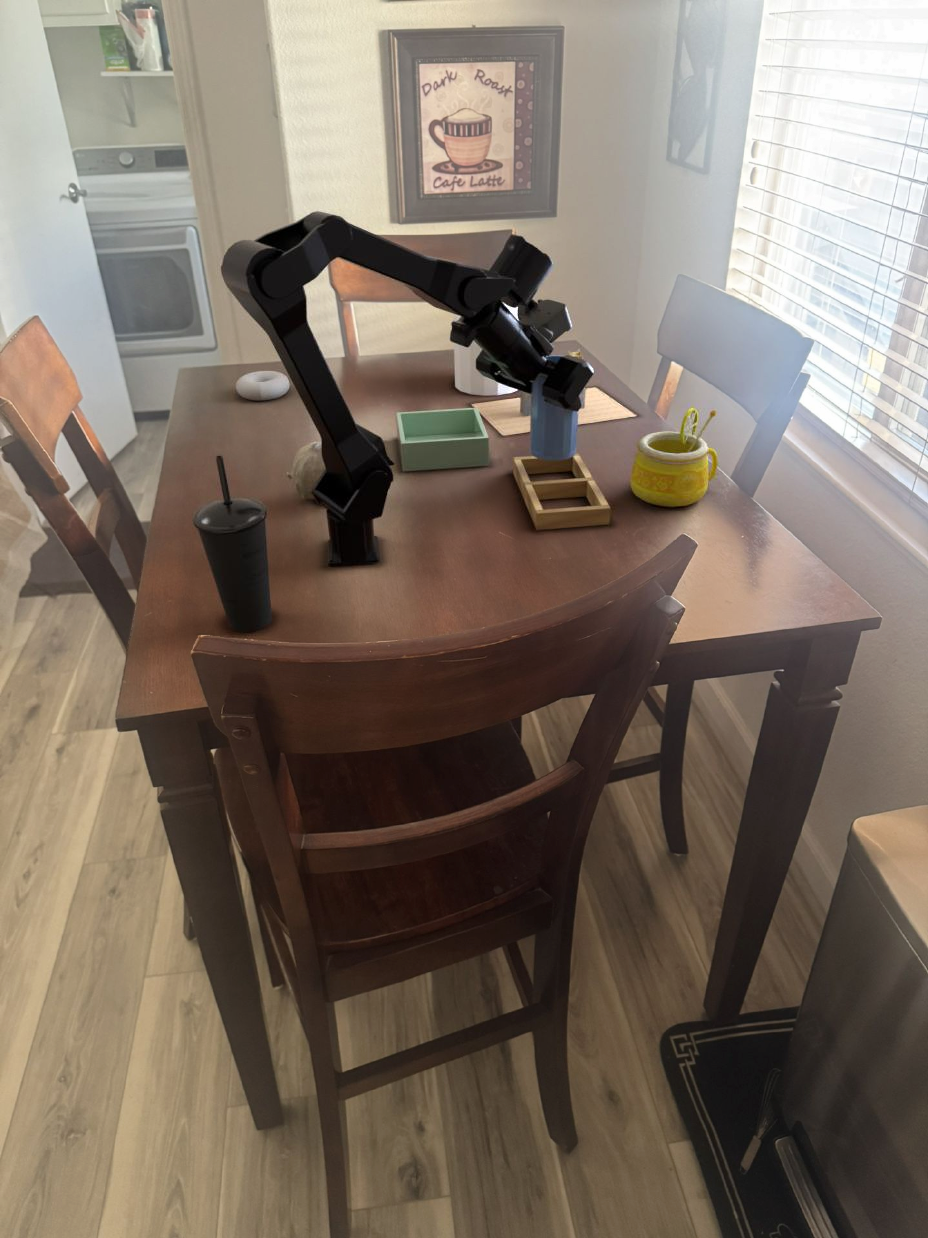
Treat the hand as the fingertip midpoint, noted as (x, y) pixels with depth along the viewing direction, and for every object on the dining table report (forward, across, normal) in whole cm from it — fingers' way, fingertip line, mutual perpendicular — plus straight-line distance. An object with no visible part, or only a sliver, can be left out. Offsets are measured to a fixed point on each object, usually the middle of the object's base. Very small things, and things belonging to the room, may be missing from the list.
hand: (562, 401), depth 121 cm
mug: (+16, -14, +2) cm, 21 cm away
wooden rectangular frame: (+6, -4, +11) cm, 13 cm away
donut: (-4, +65, +21) cm, 68 cm away
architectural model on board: (+22, +24, -5) cm, 33 cm away
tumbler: (+4, 0, +6) cm, 7 cm away
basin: (+4, +20, +14) cm, 25 cm away
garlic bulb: (-13, +17, +30) cm, 37 cm away
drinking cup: (-28, -6, +46) cm, 54 cm away
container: (+22, +42, -5) cm, 48 cm away
